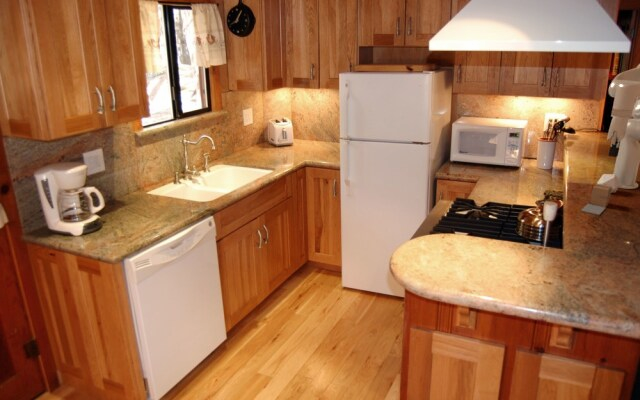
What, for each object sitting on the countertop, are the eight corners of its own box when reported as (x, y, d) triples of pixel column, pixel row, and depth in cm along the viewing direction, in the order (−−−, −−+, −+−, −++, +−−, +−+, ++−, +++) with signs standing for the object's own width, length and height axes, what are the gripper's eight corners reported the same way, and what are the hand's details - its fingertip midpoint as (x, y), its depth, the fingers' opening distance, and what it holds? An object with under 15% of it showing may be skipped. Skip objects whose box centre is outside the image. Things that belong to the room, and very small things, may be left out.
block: (593, 200, 222) (596, 183, 219) (608, 203, 219) (612, 186, 216) (589, 204, 218) (592, 186, 215) (604, 207, 214) (608, 189, 212)
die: (617, 197, 228) (628, 178, 228) (600, 187, 228) (611, 168, 228) (606, 197, 236) (617, 179, 236) (590, 187, 236) (601, 169, 236)
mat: (587, 204, 218) (587, 203, 217) (605, 208, 213) (605, 207, 213) (580, 211, 211) (580, 210, 210) (599, 215, 206) (599, 214, 206)
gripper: (616, 109, 218) (607, 151, 225) (607, 114, 208) (598, 157, 214) (636, 112, 214) (626, 154, 220) (627, 116, 203) (618, 161, 210)
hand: (612, 156), depth 217 cm, fingers closed
